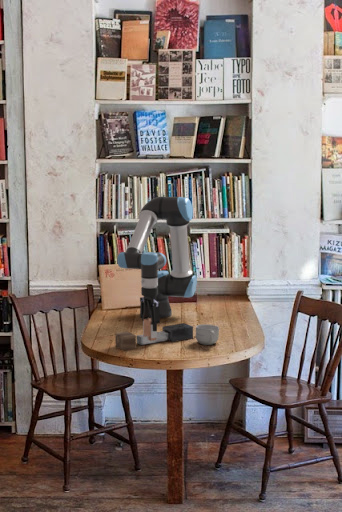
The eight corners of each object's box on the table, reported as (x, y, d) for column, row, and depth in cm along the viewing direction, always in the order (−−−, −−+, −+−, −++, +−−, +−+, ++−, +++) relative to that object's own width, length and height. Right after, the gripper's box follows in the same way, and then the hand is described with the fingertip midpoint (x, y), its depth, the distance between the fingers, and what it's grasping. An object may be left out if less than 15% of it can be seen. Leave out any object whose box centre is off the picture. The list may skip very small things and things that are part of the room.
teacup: (194, 340, 344) (194, 323, 343) (217, 339, 345) (217, 323, 344) (197, 348, 331) (198, 331, 329) (222, 348, 332) (222, 330, 330)
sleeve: (162, 338, 348) (162, 326, 347) (183, 334, 354) (183, 323, 354) (171, 342, 342) (171, 330, 341) (192, 338, 348) (192, 326, 347)
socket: (115, 346, 335) (115, 333, 334) (127, 344, 338) (126, 331, 337) (124, 350, 328) (124, 337, 327) (135, 348, 331) (135, 335, 330)
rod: (135, 342, 339) (135, 320, 337) (186, 333, 354) (186, 312, 352) (142, 345, 334) (141, 323, 332) (193, 336, 349) (193, 314, 347)
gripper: (131, 284, 341) (132, 332, 345) (153, 291, 326) (153, 342, 329) (145, 282, 345) (146, 330, 349) (167, 289, 330) (168, 339, 333)
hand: (149, 335), depth 339 cm, fingers closed on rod, 6 cm apart
